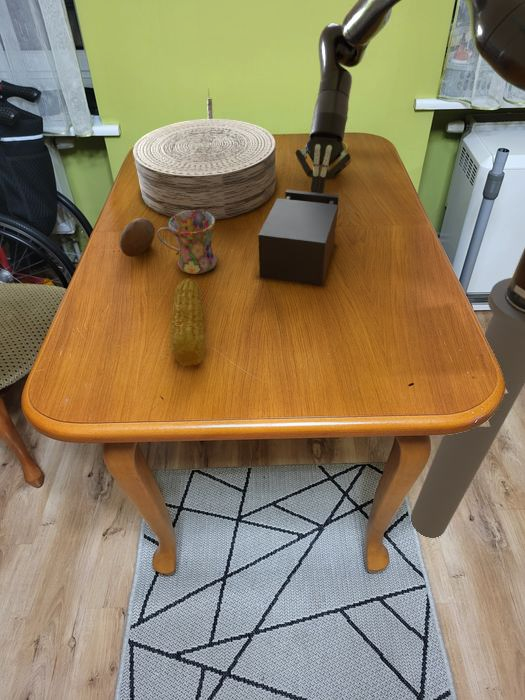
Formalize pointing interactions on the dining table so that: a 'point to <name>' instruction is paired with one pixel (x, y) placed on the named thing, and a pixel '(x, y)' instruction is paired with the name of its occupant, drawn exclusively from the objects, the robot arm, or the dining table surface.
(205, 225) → the mug
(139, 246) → the potato
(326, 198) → the drawer
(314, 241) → the dark grey cube
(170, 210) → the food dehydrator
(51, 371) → the dining table surface
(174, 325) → the food
